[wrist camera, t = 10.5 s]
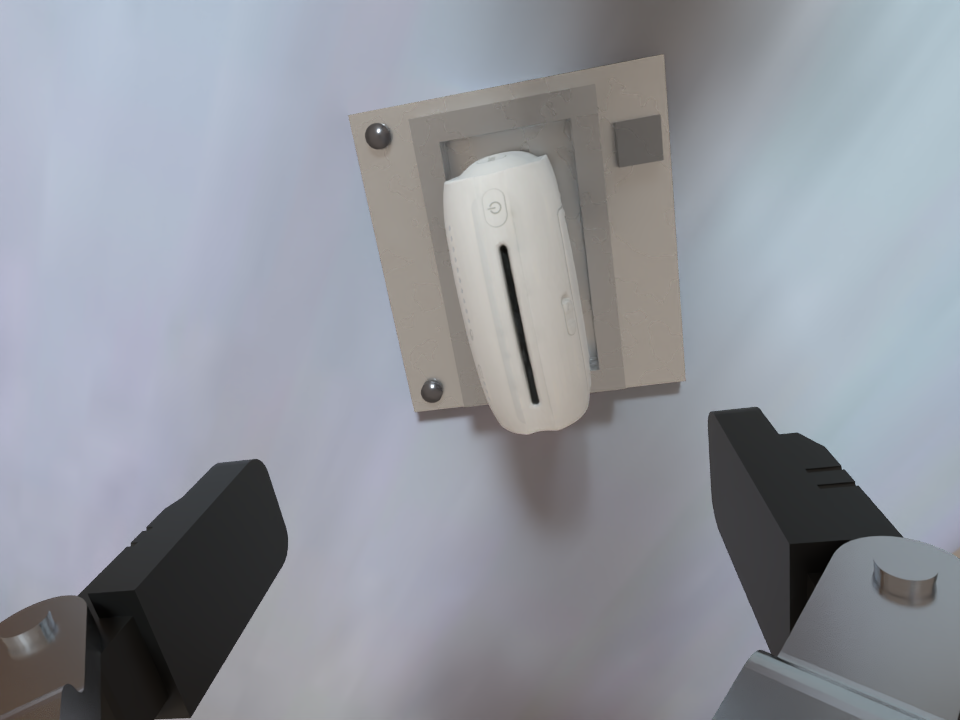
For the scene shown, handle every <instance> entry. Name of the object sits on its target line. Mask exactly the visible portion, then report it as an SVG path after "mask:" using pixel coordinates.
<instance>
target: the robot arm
mask: <svg viewBox="0 0 960 720" xmlns="http://www.w3.org/2000/svg"><path fill="white" fill-rule="evenodd" d="M708 437H709V457H710V476H711V494H712V503H713V509H714V514H715V519H716V523H717V526H718V529H719V532H720V534H721V537H722V539H723V542H724V544H725V546H726V549H727V551H728V553H729V556H730V558H731V560H732V563H733V565H734V567H735V570H736V572H737V574H738V577H739V579H740V582H741V584H742V586H743V589H744V591H745V593H746V596H747V598H748V600H749V603H750V605H751V607H752V610H753V612H754V614H755V617H756V619H757V621H758V624H759V626H760V629H761V631H762V633H763V636H764V638H765V640H766V643H767V645H768V647H769V650H770V652H771V654H770V653H768V652H765V651H763V650H758V651H756V652H755V653H753V654H752V655H751V656H750V658H749V659H748V660H747V662H746V663H745V665H744V666H743V668H742V670H741V671H740V673H739V675H738V676H737V678H736V680H735V682H734V683H733V685H732V687H731V688H730V690H729V692H728V693H727V695H726V697H725V698H724V700H723V702H722V704H721V705H720V707H719V709H718V710H717V712H716V714H715V715H714V717H713V719H712V720H960V559H959V558H958V557H956V556H954V555H953V554H951V553H949V552H947V551H945V550H943V549H940V548H938V547H935V546H933V545H930V544H927V543H924V542H920V541H917V540H912V539H908V538H903V536H902V535H901V534H900V533H899V532H898V531H897V529H896V528H895V527H894V526H893V525H892V524H891V523H890V521H889V520H888V519H887V518H886V517H885V516H884V514H883V513H882V512H881V511H880V510H879V509H878V508H877V506H876V505H875V504H874V503H873V502H872V501H871V499H870V498H869V497H868V496H867V495H866V494H865V493H864V491H863V490H862V489H861V488H860V487H859V486H856V485H855V481H854V480H853V479H852V478H851V476H850V475H849V474H848V473H847V472H846V471H845V470H842V468H841V465H840V464H839V463H838V461H837V460H836V459H835V458H834V457H833V456H832V455H831V453H830V452H829V451H828V450H827V449H826V448H825V447H824V446H822V445H820V444H818V443H816V442H814V441H812V440H811V439H809V438H807V437H805V436H803V435H801V434H799V433H789V434H778V433H777V431H776V430H775V429H774V427H773V426H772V425H771V423H770V422H769V421H768V419H767V418H766V417H765V415H764V414H763V413H762V411H761V410H760V409H759V408H758V407H750V408H741V409H731V410H722V411H712V412H710V413H709V416H708ZM146 528H147V530H146V531H142V532H141V533H140V534H139V535H138V536H137V537H136V538H135V539H134V540H133V541H132V542H131V547H126V548H125V549H124V550H123V551H122V552H121V553H120V554H119V555H118V556H117V557H116V558H115V559H114V560H113V561H112V562H111V563H110V564H109V565H108V566H107V567H106V568H105V569H104V570H103V571H102V572H101V573H100V574H99V575H98V576H97V577H96V578H95V579H94V580H93V581H92V582H91V583H90V584H89V585H88V586H87V587H86V588H85V589H84V590H83V591H82V592H81V593H80V594H79V595H78V596H71V595H68V596H59V597H55V598H51V599H47V600H44V601H41V602H39V603H36V604H33V605H31V606H29V607H27V608H25V609H23V610H21V611H19V612H17V613H15V614H13V615H12V616H10V617H8V618H7V619H5V620H4V621H2V622H1V623H0V720H154V719H176V718H191V716H192V715H193V713H194V711H195V710H196V708H197V706H198V705H199V703H200V701H201V700H202V698H203V697H204V695H205V693H206V692H207V690H208V688H209V687H210V685H211V683H212V682H213V680H214V678H215V677H216V675H217V673H218V672H219V670H220V668H221V667H222V665H223V663H224V662H225V660H226V658H227V657H228V655H229V654H230V652H231V650H232V649H233V647H234V645H235V644H236V642H237V640H238V639H239V637H240V635H241V634H242V632H243V630H244V629H245V627H246V625H247V624H248V622H249V620H250V619H251V617H252V616H253V614H254V612H255V611H256V609H257V607H258V606H259V604H260V602H261V601H262V599H263V597H264V596H265V594H266V592H267V591H268V589H269V587H270V586H271V584H272V582H273V581H274V579H275V577H276V576H277V574H278V573H279V571H280V569H281V568H282V566H283V564H284V562H285V559H286V556H287V550H288V535H287V530H286V526H285V523H284V520H283V517H282V514H281V511H280V508H279V504H278V501H277V498H276V495H275V492H274V489H273V486H272V483H271V480H270V477H269V474H268V471H267V468H266V467H265V465H264V464H263V463H262V462H261V461H260V460H258V459H252V460H242V461H233V462H223V463H217V464H215V465H214V466H213V467H212V468H211V469H210V470H209V471H208V472H207V473H206V474H205V475H204V476H203V477H202V478H201V479H200V480H199V481H198V482H197V483H196V484H195V485H194V486H193V487H192V488H191V489H190V490H189V491H188V492H187V493H186V494H185V495H184V496H183V497H182V498H181V499H179V500H178V501H176V502H175V503H173V504H172V505H170V506H168V507H167V508H165V509H164V510H163V511H162V512H161V513H160V514H159V515H158V516H157V517H156V518H155V519H154V520H153V521H152V522H151V523H150V524H149V525H148V526H147V527H146Z"/></svg>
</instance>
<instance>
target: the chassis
mask: <svg viewBox="0 0 960 720" xmlns="http://www.w3.org/2000/svg"><path fill="white" fill-rule="evenodd" d="M348 116H349V121H350V125H351V130H352V134H353V138H354V143H355V147H356V152H357V156H358V161H359V165H360V170H361V174H362V179H363V183H364V188H365V192H366V197H367V201H368V206H369V210H370V215H371V219H372V224H373V228H374V232H375V237H376V241H377V246H378V250H379V255H380V259H381V264H382V268H383V273H384V277H385V282H386V286H387V291H388V295H389V300H390V304H391V309H392V313H393V317H394V322H395V326H396V331H397V335H398V340H399V344H400V349H401V353H402V358H403V362H404V367H405V371H406V376H407V380H408V385H409V389H410V394H411V398H412V403H413V407H414V411H415V412H421V411H430V410H438V409H447V408H456V407H473V406H481V405H489V404H488V402H487V399H486V397H485V394H484V391H483V388H482V385H481V382H480V379H479V376H478V373H477V369H476V366H475V362H474V359H473V355H472V352H471V348H470V344H469V340H468V336H467V332H466V329H465V324H464V320H463V316H462V312H461V307H460V303H459V299H458V294H457V290H456V285H455V280H454V275H453V270H452V265H451V260H450V254H449V248H448V242H447V236H446V230H445V222H444V208H443V192H444V183H445V182H446V181H449V180H451V179H453V178H456V177H458V176H460V175H461V174H462V173H463V172H464V171H465V170H466V169H467V168H468V167H469V166H470V165H472V164H473V163H475V162H476V161H478V160H480V159H482V158H485V157H487V156H491V155H494V154H498V153H503V152H508V151H524V152H529V153H531V154H533V155H535V156H537V157H539V156H543V155H547V156H548V158H549V160H550V163H551V165H552V168H553V171H554V174H555V177H556V181H557V184H558V190H559V192H560V194H561V203H562V207H563V209H564V211H565V221H566V224H567V229H568V234H569V239H570V244H571V249H572V255H573V260H574V265H575V270H576V276H577V281H578V287H579V294H580V300H581V306H582V312H583V319H584V325H585V332H586V339H587V346H588V353H589V356H590V357H589V365H590V373H591V387H590V393H594V392H603V391H611V390H620V389H626V388H628V387H637V386H646V385H654V384H663V383H672V382H680V381H686V379H685V364H684V349H683V334H682V319H681V304H680V288H679V273H678V258H677V243H676V228H675V213H674V198H673V183H672V168H671V153H670V138H669V123H668V107H667V92H666V77H665V62H664V54H661V55H656V56H651V57H646V58H641V59H635V60H630V61H625V62H620V63H615V64H610V65H605V66H599V67H594V68H589V69H584V70H579V71H574V72H569V73H563V74H558V75H553V76H548V77H543V78H538V79H533V80H528V81H522V82H517V83H512V84H507V85H502V86H497V87H492V88H486V89H481V90H476V91H471V92H466V93H461V94H456V95H450V96H445V97H440V98H435V99H430V100H425V101H420V102H414V103H409V104H404V105H399V106H394V107H389V108H384V109H378V110H373V111H368V112H363V113H358V114H353V115H348Z"/></svg>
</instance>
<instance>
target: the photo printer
mask: <svg viewBox="0 0 960 720" xmlns="http://www.w3.org/2000/svg"><path fill="white" fill-rule="evenodd" d="M443 208H444V222H445V230H446V236H447V242H448V248H449V254H450V260H451V265H452V270H453V275H454V280H455V285H456V290H457V294H458V299H459V303H460V307H461V312H462V316H463V320H464V324H465V329H466V332H467V336H468V340H469V344H470V348H471V352H472V355H473V359H474V362H475V366H476V369H477V373H478V376H479V379H480V382H481V385H482V388H483V391H484V394H485V397H486V399H487V402H488V404H489V406H490V408H491V410H492V412H493V414H494V415H495V417H496V419H497V420H498V422H499V424H500V425H501V426H502V427H503V428H504V429H506V430H508V431H510V432H513V433H517V434H524V435H529V434H532V433H535V432H539V431H547V430H551V431H558V430H561V429H564V428H566V427H568V426H569V425H571V424H573V423H575V422H576V421H577V420H579V419H580V418H581V417H582V416H583V415H584V414H585V412H586V411H587V409H588V405H589V399H590V387H591V373H590V365H589V357H590V356H589V353H588V346H587V339H586V332H585V325H584V319H583V312H582V306H581V300H580V294H579V287H578V281H577V276H576V270H575V265H574V260H573V255H572V249H571V244H570V239H569V234H568V229H567V224H566V221H565V211H564V209H563V207H562V203H561V194H560V192H559V190H558V184H557V181H556V177H555V174H554V171H553V168H552V165H551V163H550V160H549V158H548V156H547V155H543V156H539V157H537V156H535V155H533V154H531V153H529V152H524V151H508V152H503V153H498V154H494V155H491V156H487V157H485V158H482V159H480V160H478V161H476V162H475V163H473V164H472V165H470V166H469V167H468V168H467V169H466V170H465V171H464V172H463V173H462V174H461V175H460V176H458V177H456V178H453V179H451V180H449V181H446V182H445V183H444V192H443Z"/></svg>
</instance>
